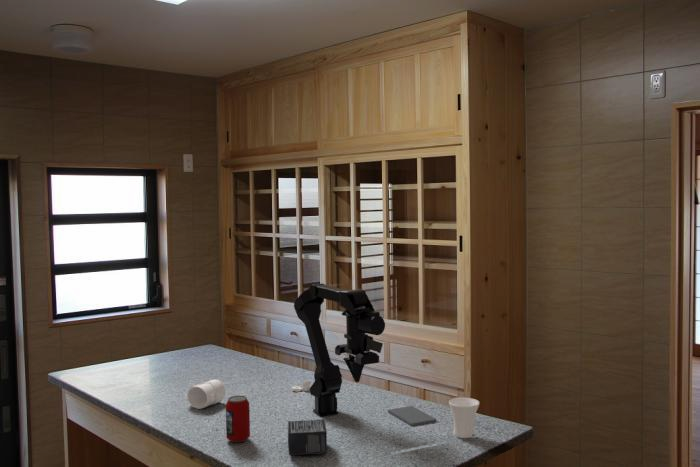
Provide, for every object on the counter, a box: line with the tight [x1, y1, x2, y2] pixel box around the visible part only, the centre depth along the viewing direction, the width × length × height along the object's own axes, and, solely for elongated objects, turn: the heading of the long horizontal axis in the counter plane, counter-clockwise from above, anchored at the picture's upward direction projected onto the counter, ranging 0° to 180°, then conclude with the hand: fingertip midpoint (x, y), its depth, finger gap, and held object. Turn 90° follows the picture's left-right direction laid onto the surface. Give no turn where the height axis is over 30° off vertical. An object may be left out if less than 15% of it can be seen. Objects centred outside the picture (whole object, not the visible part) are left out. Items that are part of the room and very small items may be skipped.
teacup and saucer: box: [291, 379, 314, 395], centre depth 235 cm, size 9×8×4 cm
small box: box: [287, 419, 328, 456], centre depth 178 cm, size 11×6×10 cm
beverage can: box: [225, 395, 251, 443], centre depth 187 cm, size 7×7×12 cm
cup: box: [448, 397, 481, 439], centre depth 187 cm, size 9×9×10 cm
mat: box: [387, 405, 437, 427], centre depth 204 cm, size 9×15×1 cm, turn 25°
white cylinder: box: [187, 379, 226, 410], centre depth 220 cm, size 12×9×8 cm
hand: (357, 381), depth 197 cm, fingers closed
